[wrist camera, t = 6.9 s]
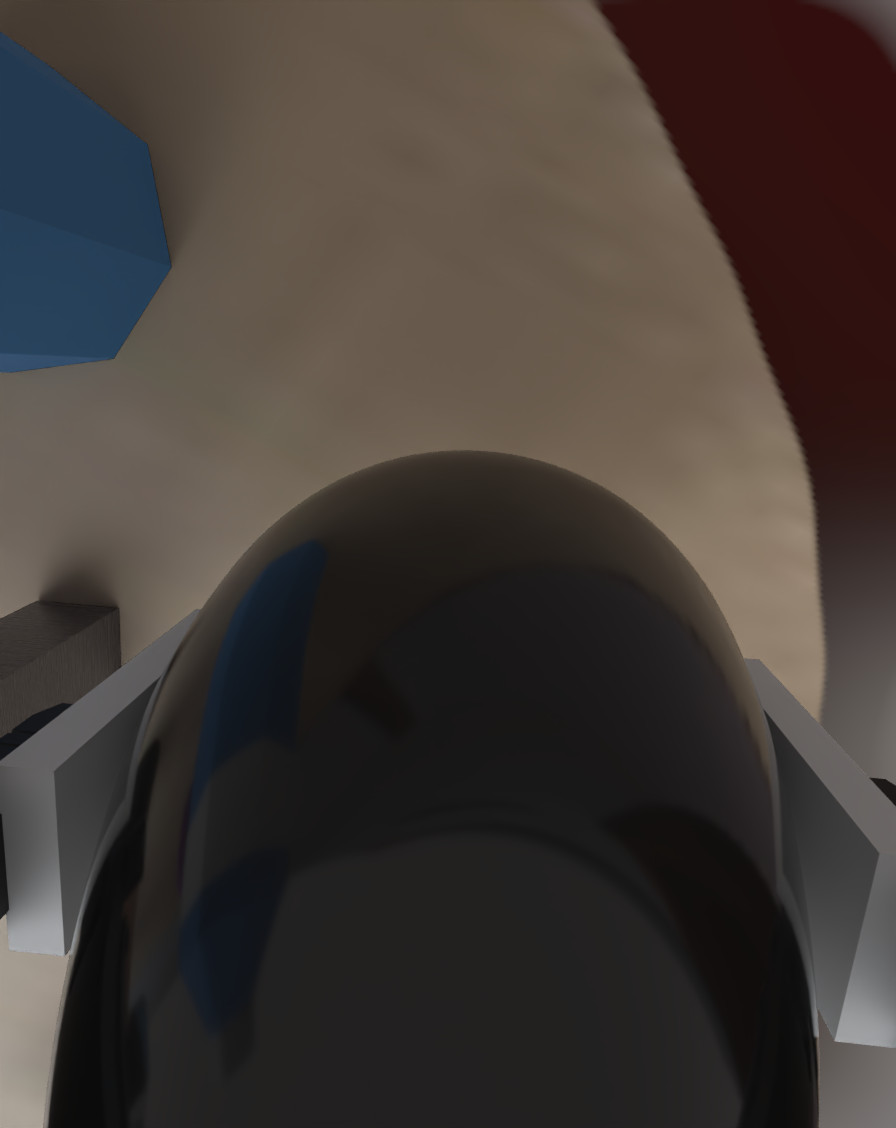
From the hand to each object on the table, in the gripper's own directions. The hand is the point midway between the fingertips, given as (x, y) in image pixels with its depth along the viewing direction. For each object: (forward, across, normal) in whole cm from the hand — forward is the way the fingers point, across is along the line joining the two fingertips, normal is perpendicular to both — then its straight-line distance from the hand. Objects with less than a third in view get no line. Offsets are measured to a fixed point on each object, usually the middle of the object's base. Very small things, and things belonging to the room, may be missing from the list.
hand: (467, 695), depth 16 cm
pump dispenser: (+3, 0, 0) cm, 3 cm away
